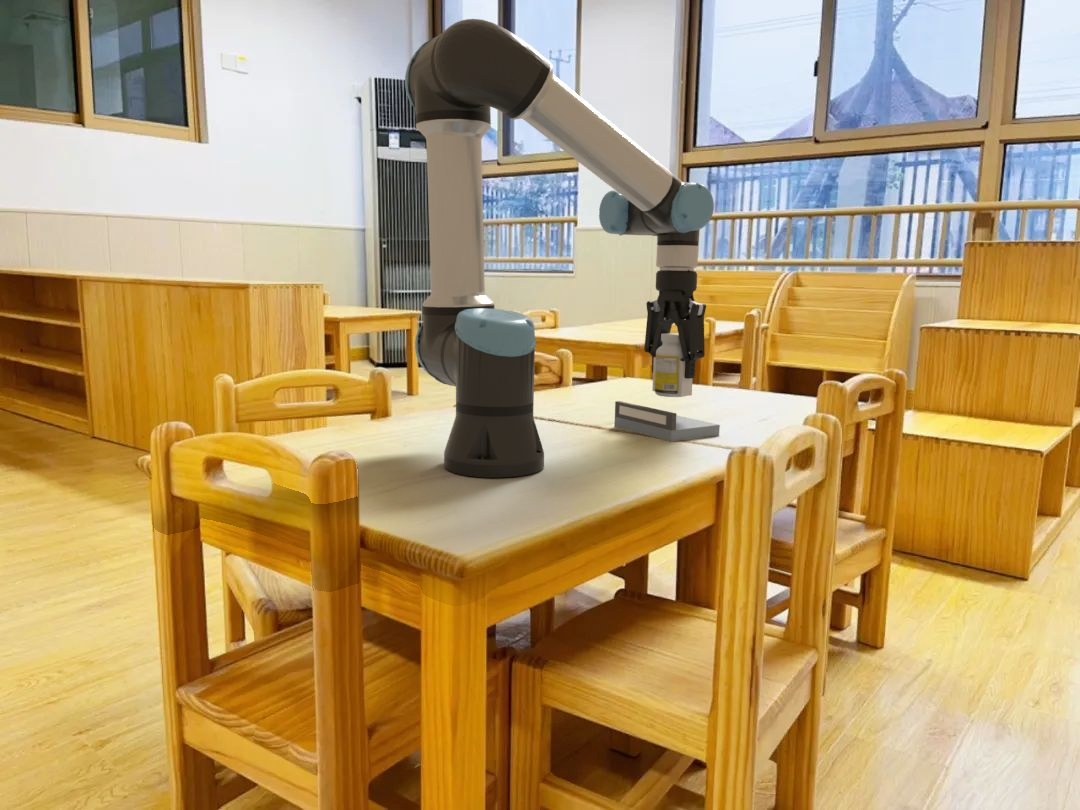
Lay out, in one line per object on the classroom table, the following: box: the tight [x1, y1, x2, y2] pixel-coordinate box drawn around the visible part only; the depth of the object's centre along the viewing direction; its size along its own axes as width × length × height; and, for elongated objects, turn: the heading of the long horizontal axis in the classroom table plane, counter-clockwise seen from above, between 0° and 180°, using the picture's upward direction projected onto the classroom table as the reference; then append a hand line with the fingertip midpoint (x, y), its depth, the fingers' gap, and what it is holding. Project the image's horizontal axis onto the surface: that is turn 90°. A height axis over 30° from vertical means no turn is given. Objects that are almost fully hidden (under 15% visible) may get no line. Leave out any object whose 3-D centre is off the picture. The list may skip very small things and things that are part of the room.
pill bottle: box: [654, 332, 690, 398], centre depth 152 cm, size 6×6×12 cm
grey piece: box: [614, 400, 721, 442], centre depth 153 cm, size 12×16×5 cm
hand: (671, 392), depth 153 cm, fingers closed on pill bottle, 6 cm apart
